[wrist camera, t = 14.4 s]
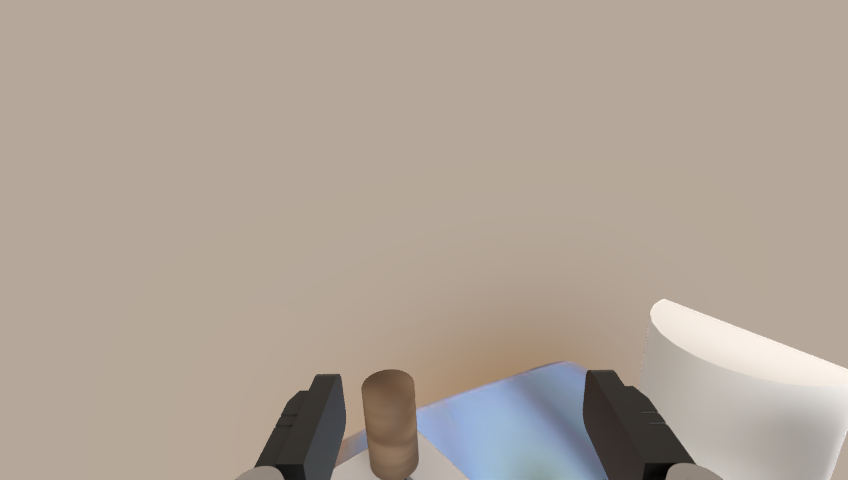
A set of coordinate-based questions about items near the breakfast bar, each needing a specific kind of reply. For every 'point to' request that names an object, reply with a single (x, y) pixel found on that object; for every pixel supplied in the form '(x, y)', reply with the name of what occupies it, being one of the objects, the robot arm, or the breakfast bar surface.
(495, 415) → the breakfast bar surface
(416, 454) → the plunger
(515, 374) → the breakfast bar surface
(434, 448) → the grey upright block
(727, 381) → the white stepped oval block
